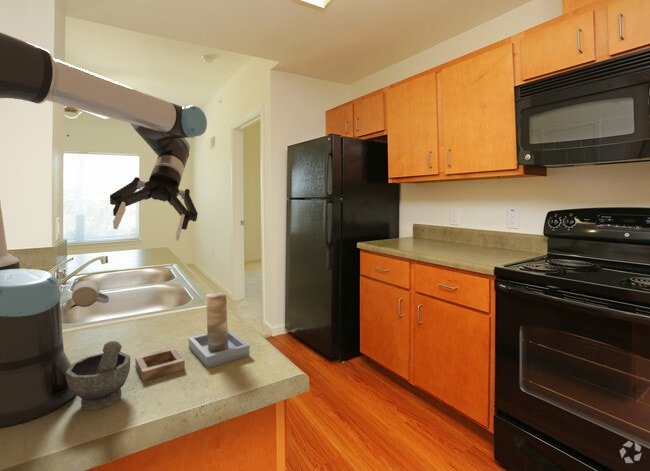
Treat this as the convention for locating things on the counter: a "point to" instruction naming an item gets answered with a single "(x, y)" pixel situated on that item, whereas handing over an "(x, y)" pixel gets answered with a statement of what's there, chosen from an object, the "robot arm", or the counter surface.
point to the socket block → (161, 369)
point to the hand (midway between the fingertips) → (147, 231)
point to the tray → (210, 359)
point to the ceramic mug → (87, 294)
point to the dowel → (217, 322)
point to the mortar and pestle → (99, 376)
